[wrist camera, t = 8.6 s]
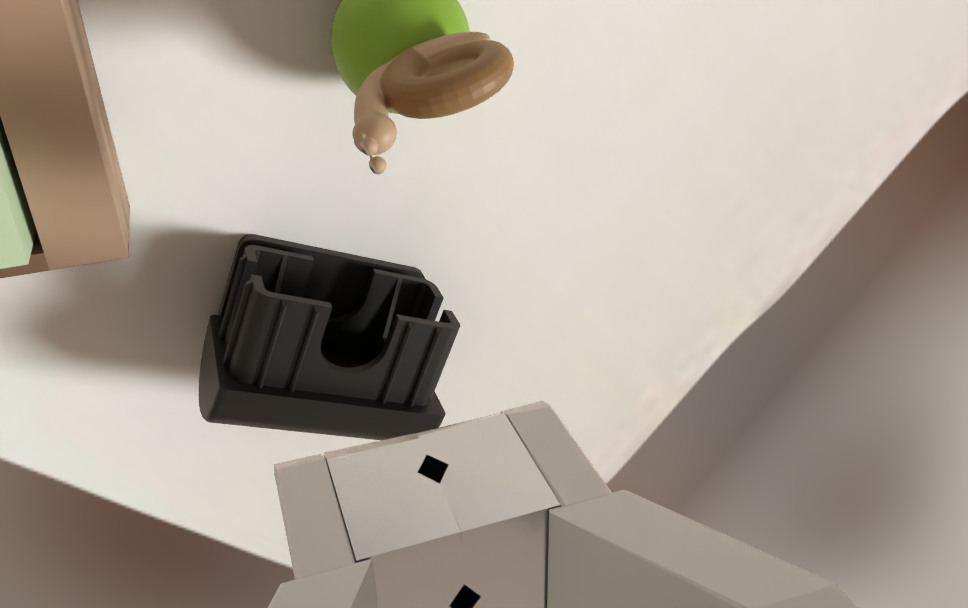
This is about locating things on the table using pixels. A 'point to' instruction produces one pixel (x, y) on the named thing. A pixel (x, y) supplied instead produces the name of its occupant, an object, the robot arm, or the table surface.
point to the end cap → (325, 344)
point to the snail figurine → (411, 65)
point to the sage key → (13, 211)
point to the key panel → (60, 137)
